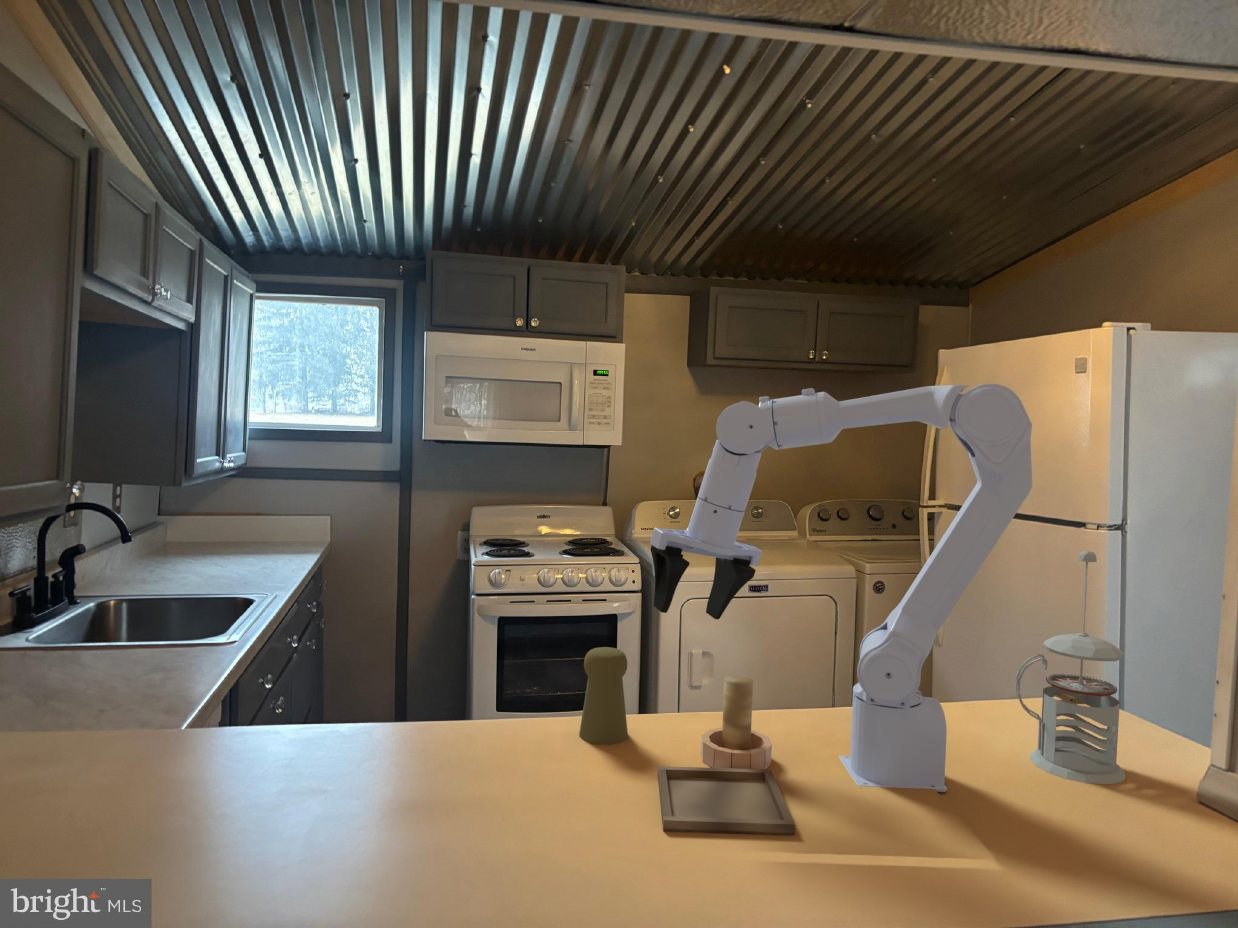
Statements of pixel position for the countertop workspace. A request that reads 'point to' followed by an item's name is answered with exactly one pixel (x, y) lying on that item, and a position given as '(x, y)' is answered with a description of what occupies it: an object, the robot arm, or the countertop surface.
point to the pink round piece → (735, 752)
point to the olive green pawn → (604, 697)
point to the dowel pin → (737, 713)
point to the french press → (1078, 711)
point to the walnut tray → (722, 801)
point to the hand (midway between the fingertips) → (686, 612)
